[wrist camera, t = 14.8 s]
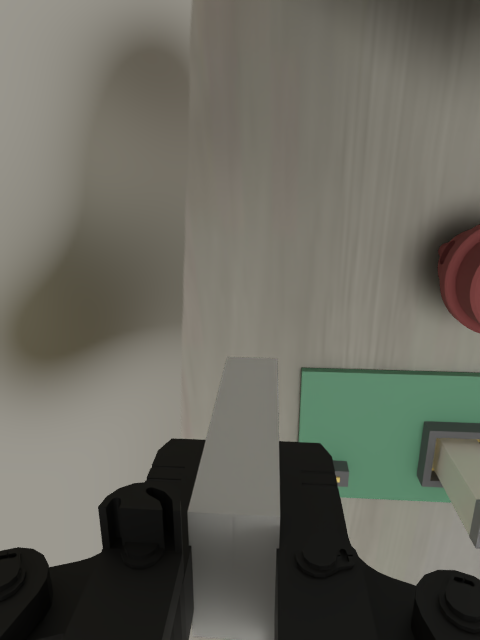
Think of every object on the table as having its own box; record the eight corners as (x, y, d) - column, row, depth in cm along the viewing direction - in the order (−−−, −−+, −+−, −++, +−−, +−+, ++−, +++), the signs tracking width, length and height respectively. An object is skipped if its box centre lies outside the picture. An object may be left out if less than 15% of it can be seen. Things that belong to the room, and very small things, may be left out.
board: (301, 367, 51) (303, 380, 48) (528, 374, 49) (545, 387, 46) (296, 489, 56) (297, 507, 52) (502, 499, 54) (515, 518, 51)
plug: (436, 434, 51) (483, 510, 39) (473, 435, 50) (532, 512, 39) (431, 465, 52) (475, 548, 41) (468, 467, 52) (523, 550, 40)
